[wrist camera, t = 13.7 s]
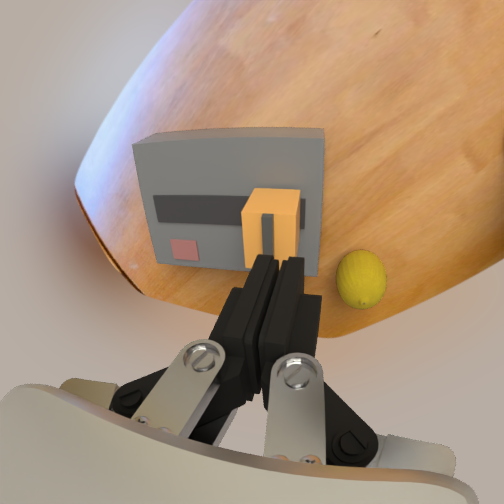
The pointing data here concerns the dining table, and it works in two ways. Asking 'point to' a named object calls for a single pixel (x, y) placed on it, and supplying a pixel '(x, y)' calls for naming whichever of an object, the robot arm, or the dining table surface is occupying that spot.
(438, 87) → the dining table surface
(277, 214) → the orange block
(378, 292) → the lemon
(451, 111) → the dining table surface
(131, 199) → the dining table surface
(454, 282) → the dining table surface
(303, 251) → the switch panel
